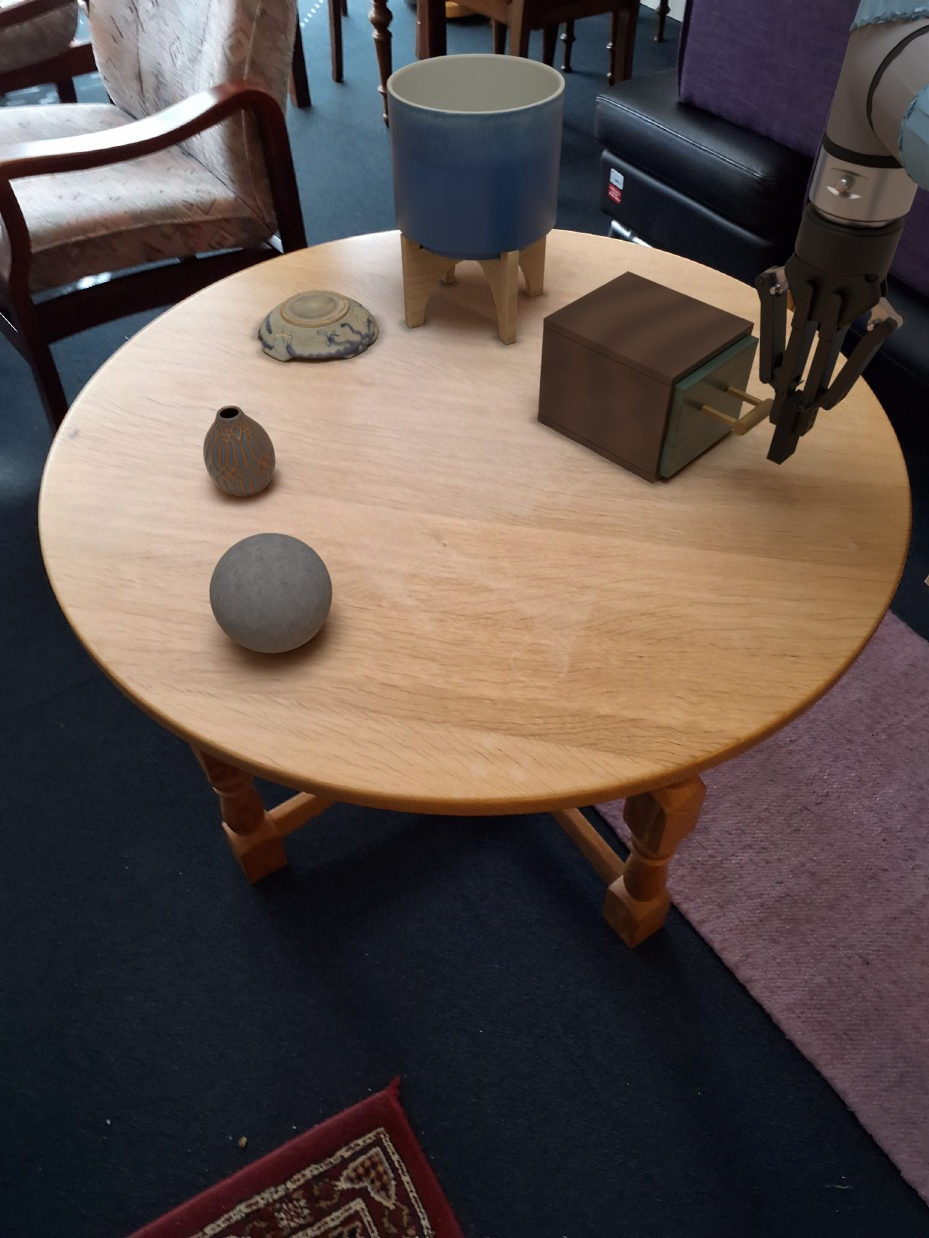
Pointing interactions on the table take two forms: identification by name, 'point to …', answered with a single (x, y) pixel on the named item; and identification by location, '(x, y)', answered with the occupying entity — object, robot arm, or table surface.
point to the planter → (475, 173)
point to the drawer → (711, 406)
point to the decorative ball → (270, 592)
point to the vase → (238, 453)
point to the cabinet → (626, 365)
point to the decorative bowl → (317, 327)
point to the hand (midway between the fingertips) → (780, 455)
